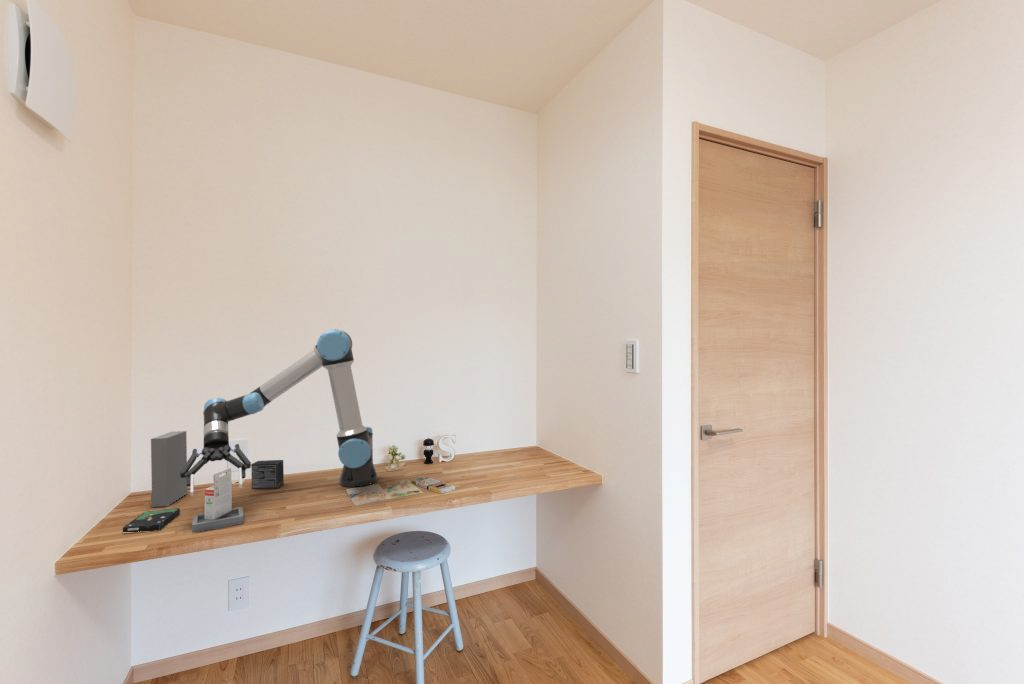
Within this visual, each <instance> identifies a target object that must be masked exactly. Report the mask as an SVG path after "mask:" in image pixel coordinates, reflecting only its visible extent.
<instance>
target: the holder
mask: <svg viewBox="0 0 1024 684" xmlns="http://www.w3.org/2000/svg"><path fill="white" fill-rule="evenodd" d="M237 524H238V525H243V524H244V511H243V506H239V507H234V508H233V507H232V511H230V512H229V513H227V514H225V515H223V516H221V517H219V518H217V519H214V520H208V519H205V512H204V513H199V514H194V515H193V517H192V524H191V530H192V531H191V533H192V534H194V533H193V532H196V533H200V532H199V531H201V532H205V530H207V531H211V529H212V530H216V529H221V528H226V527H227V526H228V527H231V526H232V525H233V526H237ZM233 526H232V527H233Z"/></svg>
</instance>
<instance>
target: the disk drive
mask: <svg viewBox="0 0 1024 684" xmlns="http://www.w3.org/2000/svg"><path fill="white" fill-rule="evenodd" d="M180 514H181V509H180V507H175V508H165V509H163V508H162V509H158V510H147V511H144V512H143V513H141V514H139V515H138V516H137V517H135V518H134V519H133V520H131V521H130V522H129V523H127V524H125V525H124V526H123V527H122V533H123V532H138V531H139V532H140V531H151V532H155V531H154V530H160V531H161V530H163V529H164V528H165V527H166V526H168V523H169V524H170V523H171V522H172V521H173V520H174V518H175V517H176V518H178V516H180ZM176 518H175V519H176ZM162 528H163V529H162Z"/></svg>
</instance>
